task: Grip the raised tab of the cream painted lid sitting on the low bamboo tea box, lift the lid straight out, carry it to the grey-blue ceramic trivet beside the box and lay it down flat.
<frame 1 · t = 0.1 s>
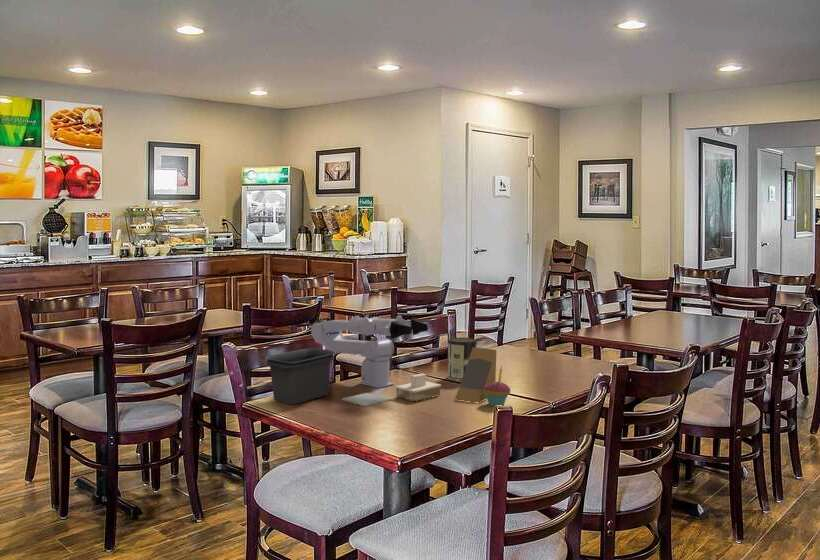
hand: (419, 328, 241), 22 cm above the table, tool horizontal, fingers open, 7 cm apart
trivet: (366, 400, 234), on the table
storage bin: (298, 398, 237), on the table
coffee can: (461, 378, 268), on the table
sandwich container: (474, 398, 240), on the table
cupcake: (496, 405, 230), on the table
box: (418, 396, 240), on the table
lid: (418, 387, 240), point 3 cm above the table, touching box
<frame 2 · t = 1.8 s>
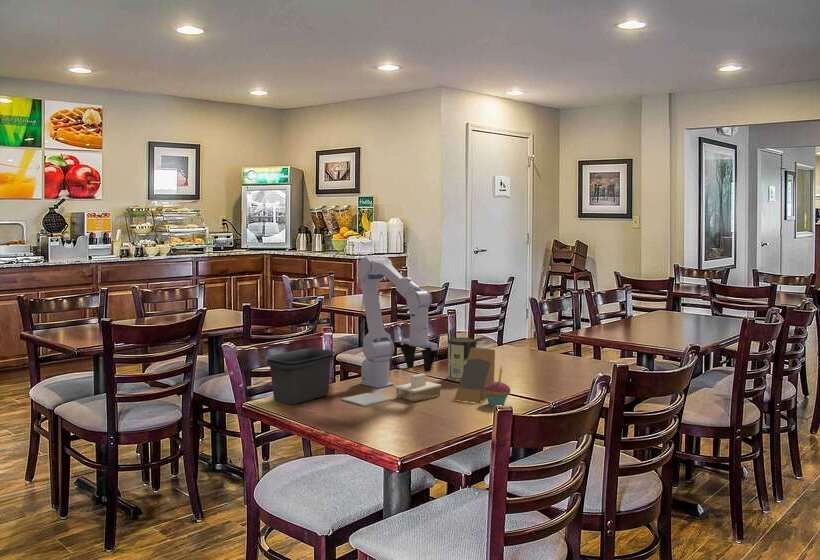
hand: (418, 369, 239), 9 cm above the table, tool pointing down, fingers open, 7 cm apart
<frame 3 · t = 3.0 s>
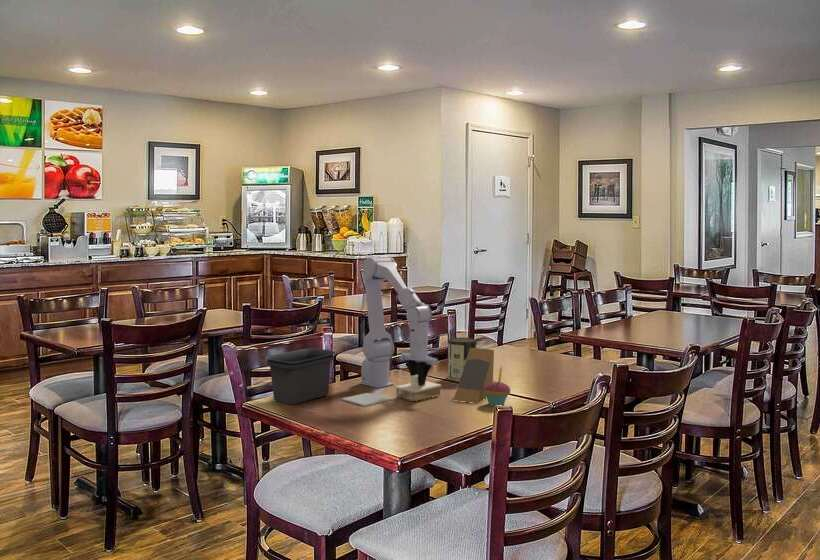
hand: (418, 384, 240), 4 cm above the table, tool pointing down, fingers closed on lid, 2 cm apart
lid: (418, 387, 240), point 3 cm above the table, touching box, gripper
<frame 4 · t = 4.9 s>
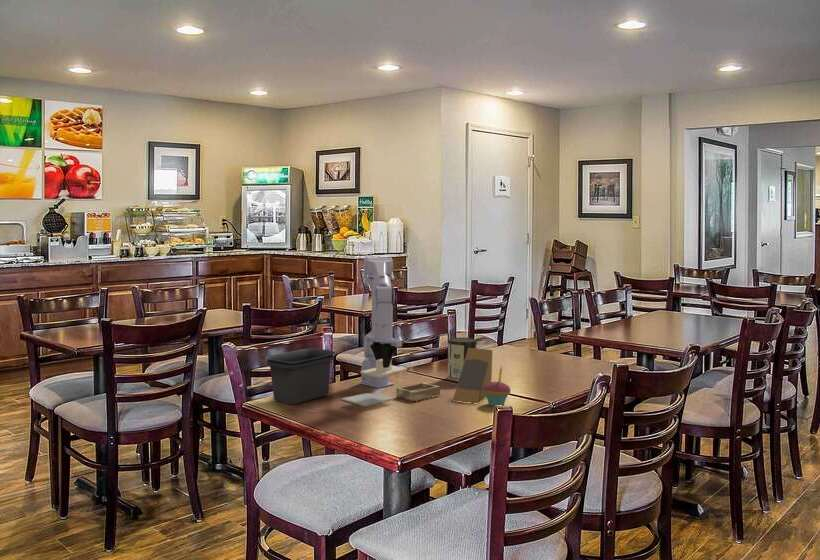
hand: (383, 366, 235), 10 cm above the table, tool pointing down, fingers closed on lid, 2 cm apart
lid: (383, 371, 236), point 9 cm above the table, touching gripper
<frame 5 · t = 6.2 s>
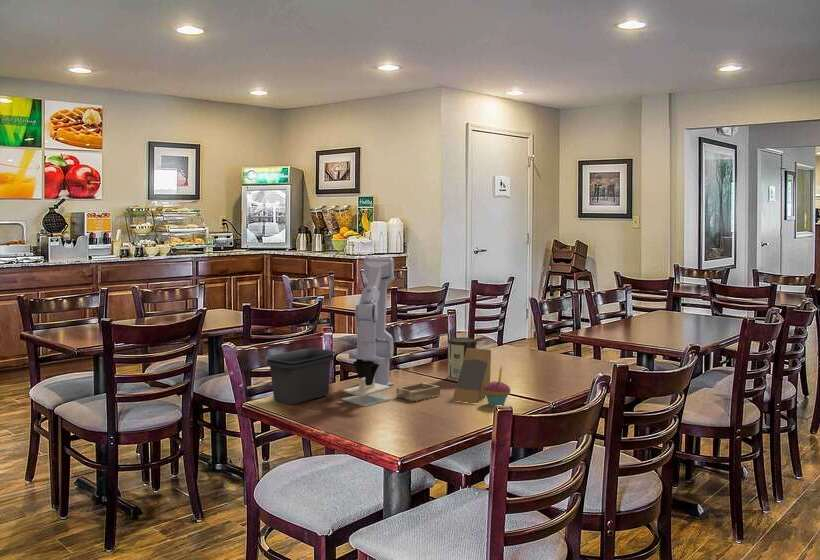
hand: (366, 384, 234), 5 cm above the table, tool pointing down, fingers closed on lid, 2 cm apart
lid: (366, 390, 234), point 3 cm above the table, touching gripper
when the fingers open (3 cm above the table, at t = 6.8 s): lid stays where it is, resting on trivet.
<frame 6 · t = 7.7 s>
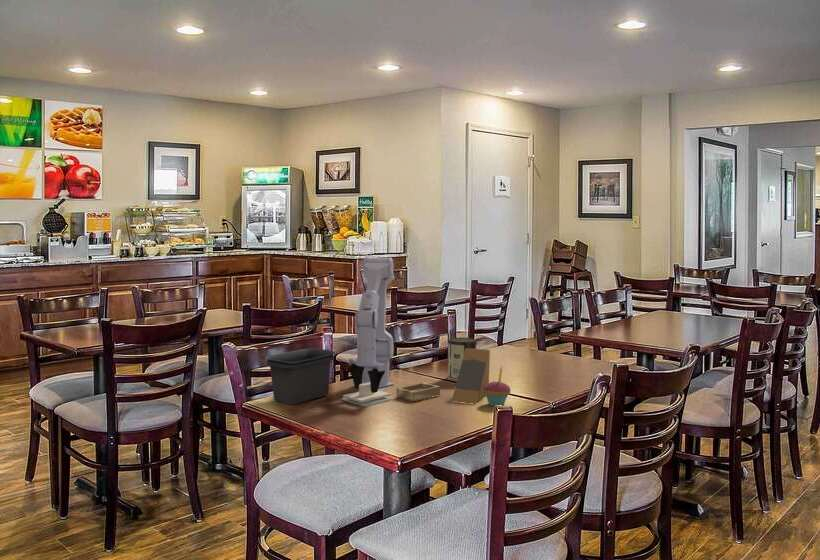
hand: (366, 390, 234), 3 cm above the table, tool pointing down, fingers open, 7 cm apart
lid: (366, 396, 235), point 1 cm above the table, touching trivet
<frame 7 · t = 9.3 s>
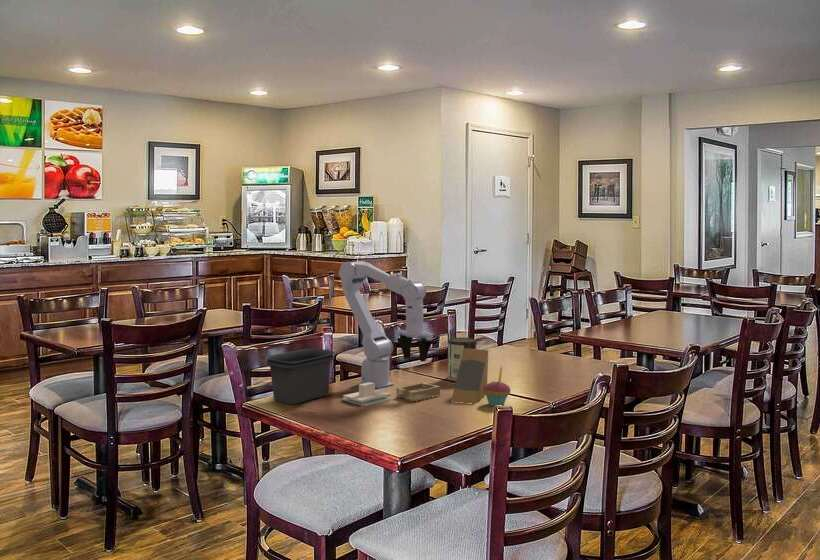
hand: (415, 359, 247), 10 cm above the table, tool pointing down, fingers open, 7 cm apart
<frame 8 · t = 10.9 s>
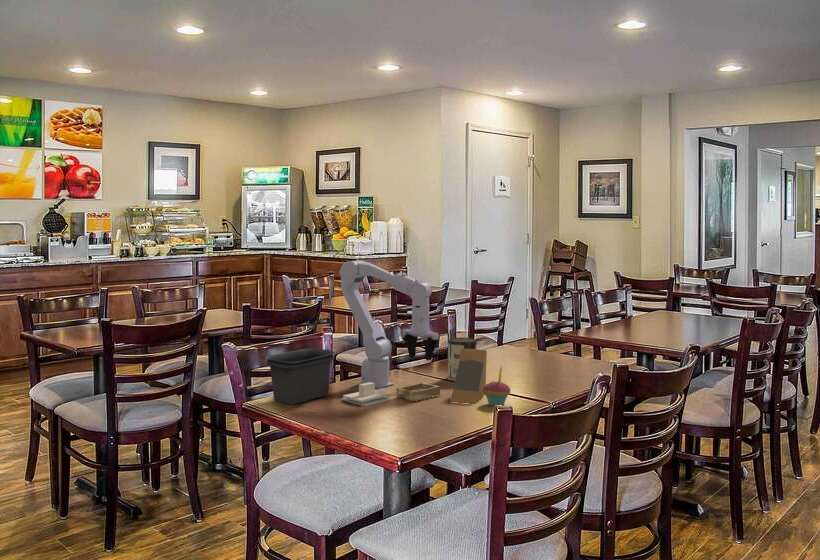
hand: (420, 358, 250), 10 cm above the table, tool pointing down, fingers open, 7 cm apart
at the end: lid inside the target area on the trivet (0.3 cm from its centre), point 1.2 cm above the trivet's base; lid tilted 0°; lid touching trivet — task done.
